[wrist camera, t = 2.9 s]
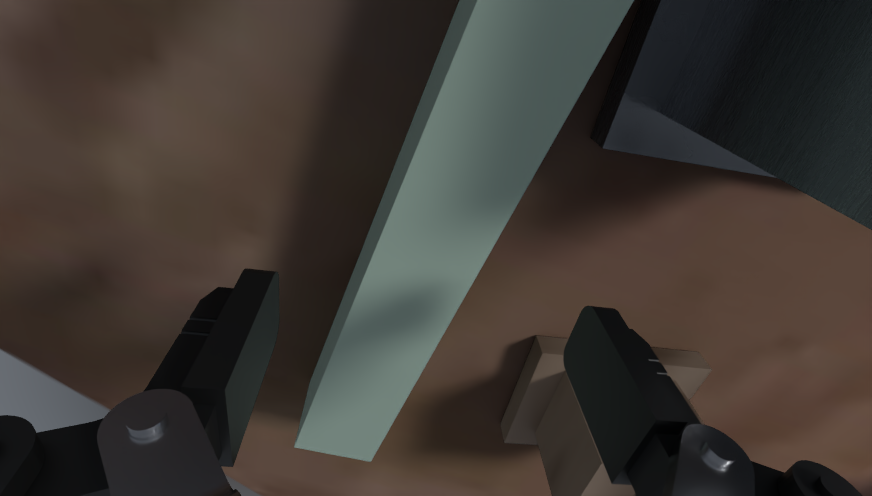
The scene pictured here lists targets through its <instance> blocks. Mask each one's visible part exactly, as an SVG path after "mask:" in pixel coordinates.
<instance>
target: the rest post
mask: <svg viewBox="0 0 872 496" xmlns="http://www.w3.org/2000/svg"><path fill="white" fill-rule="evenodd" d="M567 341H568V339H566V338H556V337H547V336H537V335H536V337H535V340H534V342H533V345H532V347H531V350H530V352H529V355H528V357H527V359H526V362H525V364H524V367H523V369H522V372H521V374H520V377H519V379H518V382H517V384H516V386H515V389H514V391H513V394H512V396H511V399H510V401H509V404H508V406H507V409H506V411H505V414H504V416H503V418H502V421H501V423H500V425H501V430H502V435H503V440H504V443H514V444H529V445H538V446H539V450H540V454H541V457H542V461H543V465H544V468H545V472H546V475H547V479H548V483H549V486H550V490H551V494H552V496H634V494H635V491H634V489H633V487H632V485H621V484H612V483H611V481H610V478H609V476H608V474H607V471H606V469H605V466H604V464H603V461H602V459H601V456H600V454H599V451H598V449H597V447H596V444H595V442H594V439H593V437H592V434H591V432H590V429H589V427H588V424H587V422H586V420H585V417H584V415H583V412H582V410H581V407H580V405H579V402H578V400H577V397H576V395H575V393H574V390H573V388H572V385H571V383H570V380H569V378H568V375H567V373H566V370H565V367H564V361H563V355H564V349H565V346H566V343H567ZM651 348H652V350H653V351H654V353H655V354H656V356H657V357H658V359H659V363H662V365H663V366H664V368H665V370H666V371H667V375H668V376H670V377H671V379H672V380H673V382H674V383H675V385H676V386H677V388H678V389H679V391H680V392H681V394H682V395H683V397H684V398H685V400H686V401H687V403H688V404H689V406H690V407H691V409H692V410H693V412H694V413H695V415H696V417H697V418H698V420H699V421H700V423H701V424H703V425H705V424H704V423H703V421H702V420H701V418H700V417H699V415H698V414H697V412H696V410H695V409H694V407H693V406H692V404H691V403H690V401H689V400H690V399H691V398H692V396H693V395H694V394H695V392H696V391H697V390H698V388H699V387H700V385H701V384H702V383H703V381H704V380H705V379H706V377H707V376H708V374H709V373H710V372H711V370H712V369H711V368H710V366H709V365H708V364H707V362H706V361H705V360H704V358H703V357H702V356H701V354H700V353H699V352H693V351H683V350H674V349H664V348H654V347H651Z"/></svg>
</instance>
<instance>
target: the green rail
mask: <svg viewBox="0 0 872 496" xmlns="http://www.w3.org/2000/svg"><path fill="white" fill-rule="evenodd" d="M633 1H634V0H459V3H458V5H457V8H456V10H455V13H454V15H453V18H452V20H451V23H450V26H449V28H448V31H447V33H446V36H445V38H444V41H443V43H442V46H441V49H440V51H439V54H438V56H437V59H436V61H435V64H434V66H433V69H432V71H431V74H430V77H429V79H428V82H427V84H426V87H425V89H424V92H423V94H422V97H421V100H420V102H419V105H418V107H417V110H416V112H415V115H414V117H413V120H412V123H411V125H410V128H409V130H408V133H407V135H406V138H405V140H404V143H403V146H402V148H401V151H400V153H399V156H398V158H397V161H396V163H395V166H394V169H393V171H392V174H391V176H390V179H389V181H388V184H387V186H386V189H385V191H384V194H383V197H382V199H381V202H380V204H379V207H378V209H377V212H376V214H375V217H374V220H373V222H372V225H371V227H370V230H369V232H368V235H367V237H366V240H365V243H364V245H363V248H362V250H361V253H360V255H359V258H358V260H357V263H356V266H355V268H354V271H353V273H352V276H351V278H350V281H349V283H348V286H347V289H346V291H345V294H344V296H343V299H342V301H341V304H340V306H339V309H338V311H337V314H336V317H335V319H334V322H333V324H332V327H331V329H330V332H329V334H328V337H327V340H326V342H325V345H324V347H323V350H322V352H321V355H320V357H319V360H318V363H317V365H316V368H315V370H314V373H313V375H312V378H311V380H310V383H309V387H308V392H307V396H306V400H305V404H304V408H303V412H302V416H301V421H300V425H299V429H298V433H297V437H296V441H295V445H294V447H295V448H301V449H306V450H311V451H316V452H322V453H327V454H332V455H338V456H343V457H348V458H353V459H359V460H364V461H369V462H371V460H372V459H373V457H374V455H375V453H376V452H377V450H378V448H379V446H380V445H381V443H382V441H383V439H384V438H385V436H386V434H387V432H388V431H389V429H390V427H391V425H392V424H393V422H394V420H395V418H396V417H397V415H398V413H399V411H400V410H401V408H402V406H403V404H404V403H405V401H406V399H407V397H408V396H409V394H410V392H411V390H412V389H413V387H414V385H415V383H416V382H417V380H418V378H419V376H420V375H421V373H422V371H423V369H424V368H425V366H426V364H427V362H428V360H429V359H430V357H431V355H432V353H433V352H434V350H435V348H436V346H437V345H438V343H439V341H440V339H441V338H442V336H443V334H444V332H445V331H446V329H447V327H448V325H449V324H450V322H451V320H452V318H453V317H454V315H455V313H456V311H457V310H458V308H459V306H460V304H461V303H462V301H463V299H464V297H465V296H466V294H467V292H468V290H469V289H470V287H471V285H472V283H473V282H474V280H475V278H476V276H477V275H478V273H479V271H480V269H481V268H482V266H483V264H484V262H485V261H486V259H487V257H488V255H489V254H490V252H491V250H492V248H493V247H494V245H495V243H496V241H497V240H498V238H499V236H500V234H501V233H502V231H503V229H504V227H505V226H506V224H507V222H508V220H509V219H510V217H511V215H512V213H513V212H514V210H515V208H516V206H517V205H518V203H519V201H520V199H521V198H522V196H523V194H524V192H525V190H526V189H527V187H528V185H529V183H530V182H531V180H532V178H533V176H534V175H535V173H536V171H537V169H538V168H539V166H540V164H541V162H542V161H543V159H544V157H545V155H546V154H547V152H548V150H549V148H550V147H551V145H552V143H553V141H554V140H555V138H556V136H557V134H558V133H559V131H560V129H561V127H562V126H563V124H564V122H565V120H566V119H567V117H568V115H569V113H570V112H571V110H572V108H573V106H574V105H575V103H576V101H577V99H578V98H579V96H580V94H581V92H582V91H583V89H584V87H585V85H586V84H587V82H588V80H589V78H590V77H591V75H592V73H593V71H594V70H595V68H596V66H597V64H598V63H599V61H600V59H601V57H602V56H603V54H604V52H605V50H606V49H607V47H608V45H609V43H610V42H611V40H612V38H613V36H614V35H615V33H616V31H617V29H618V27H619V26H620V24H621V22H622V20H623V19H624V17H625V15H626V13H627V12H628V10H629V8H630V6H631V5H632V3H633Z"/></svg>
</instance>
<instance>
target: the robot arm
mask: <svg viewBox="0 0 872 496" xmlns="http://www.w3.org/2000/svg"><path fill="white" fill-rule="evenodd" d="M278 328H279V275H278V272H274V271H264V270H255V269H244V270H243V272H242V274H241V276H240V277H239V279H238V281H237V283H236V285H235V287H234V289H233V288H223V287H218V288H216V289H215V290H214V291H212V292H211V293H210V294H208V295H207V296H205V297H204V298H203V299H201V300H200V302H199V303H198V305H197V306H196V308H195V310H194V311H193V313H192V314H191V316H190V320H188V321H187V323H186V324H185V326H184V327H183V329H182V333H181V334H179V336H178V337H177V339H176V340H175V342H174V344H173V345H172V347H171V348H170V350H169V352H168V353H167V355H166V357H165V358H164V360H163V361H162V363H161V365H160V366H159V368H158V370H157V371H156V373H155V374H154V376H153V378H152V379H151V381H150V382H149V384H148V386H147V387H146V389H145V390H144V391H143V392H141V393H138V394H136V395H133V396H131V397H129V398H127V399H125V400H124V401H122V402H121V403H119V404H118V405H116V406H115V407H114V408H113V409H112V410H111V411H110V412H109V413H108V414H107V415H106V416H105V417H104V418H103V419H100V420H97V421H93V422H89V423H85V424H79V425H74V426H69V427H64V428H59V429H54V430H49V431H44V432H39V433H36V431H35V429H34V427H33V426H32V424H31V423H30V422H29V421H27V420H25V419H23V418H21V417H17V416H8V415H4V416H0V496H241V494H240V493H239V492H238V491H237V490H236V489H235V490H233V489H232V488H231V486H230V484H229V483H228V481H227V478H226V476H225V474H224V472H223V469H222V467H221V466H228V467H233V465H234V462H235V460H236V457H237V454H238V451H239V448H240V445H241V442H242V439H243V436H244V433H245V430H246V428H247V425H248V422H249V419H250V416H251V413H252V410H253V407H254V404H255V401H256V398H257V396H258V393H259V390H260V387H261V384H262V381H263V378H264V375H265V372H266V369H267V366H268V364H269V361H270V358H271V355H272V352H273V349H274V346H275V343H276V339H277V334H278ZM563 361H564V367H565V370H566V373H567V375H568V378H569V380H570V383H571V385H572V388H573V390H574V393H575V395H576V397H577V400H578V402H579V405H580V407H581V410H582V412H583V415H584V417H585V420H586V422H587V424H588V427H589V429H590V432H591V434H592V437H593V439H594V442H595V444H596V447H597V449H598V451H599V454H600V456H601V459H602V461H603V464H604V466H605V469H606V471H607V474H608V476H609V478H610V481H611V483H612V484H621V485H632V487H633V489H634V491H635V494H634V496H862V495H861V494H860V493H859V492H858V491H857V490H856V489H855V488H854V487H853V486H852V485H851V484H850V483H849V482H848V481H846V480H845V479H844V478H843V477H841V476H840V475H839V474H837V473H835V472H834V471H832V470H831V469H829V468H827V467H825V466H823V465H821V464H818V463H815V462H812V461H807V460H801V461H798V462H796V463H795V464H794V465H792V466H791V467H790V468H789V469H788V470H787V471H786V472H785V473H784V472H781V471H778V470H775V469H772V468H769V467H767V466H764V465H761V464H758V463H755V462H752V461H750V459H749V457H748V456H747V454H746V453H745V452H744V451H743V449H742V448H741V447H740V446H739V445H738V444H737V443H736V442H735V441H733V440H732V439H731V438H730V437H728V436H727V435H726V434H724V433H722V432H721V431H719V430H717V429H715V428H713V427H710V426H707V425H703V424H701V423H700V421H699V420H698V418H697V417H696V415H695V413H694V412H693V410H692V409H691V407H690V406H689V404H688V403H687V401H686V400H685V398H684V397H683V395H682V394H681V392H680V391H679V389H678V388H677V386H676V385H675V383H674V382H673V380H672V379H671V377H670V376H668V375H667V371H666V370H665V368H664V366H663V365H662V363H659V359H658V357H657V356H656V354H655V353H654V351H653V350H652V348H651V347H650V345H649V344H648V343H647V342H646V341H645V340H644V339H643V338H642V337H640V336H639V335H638V334H637V333H636V332H635V331H634V330H633V329H629V328H628V326H627V325H626V323H625V322H624V320H623V318H622V317H621V315H620V314H619V312H618V311H617V310H616V309H613V308H603V307H594V306H586V307H584V308H583V310H582V311H581V313H580V315H579V318H578V320H577V322H576V324H575V326H574V328H573V331H572V333H571V335H570V337H569V339H568V341H567V343H566V346H565V349H564V355H563Z"/></svg>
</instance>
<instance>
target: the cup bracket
mask: <svg viewBox="0 0 872 496" xmlns="http://www.w3.org/2000/svg"><path fill="white" fill-rule="evenodd" d="M590 138H591V139H593V140H594V141H595V142H596V143H597V144H598V145H599V146H600V147H602V148H603V149H609V150H615V151H621V152H627V153H633V154H639V155H645V156H651V157H657V158H662V159H668V160H674V161H680V162H686V163H692V164H698V165H704V166H710V167H716V168H721V169H727V170H733V171H739V172H745V173H751V174H757V175H763V176H769V177H775V178H778V179H780V180H782V181H784V182H786V183H788V184H789V185H791V186H793V187H795V188H797V189H798V190H800V191H802V192H804V193H806V194H807V195H809V196H811V197H813V198H815V199H817V200H818V201H820V202H822V203H824V204H826V205H827V206H829V207H831V208H833V209H835V210H836V211H838V212H840V213H842V214H844V215H846V216H847V217H849V218H851V219H853V220H855V221H856V222H858V223H860V224H862V225H864V226H865V227H867V228H869V229H871V230H872V0H642V1H641V4H640V7H639V9H638V12H637V15H636V17H635V20H634V23H633V25H632V28H631V31H630V33H629V36H628V39H627V41H626V44H625V47H624V49H623V52H622V55H621V57H620V60H619V63H618V65H617V68H616V71H615V73H614V76H613V79H612V81H611V84H610V87H609V89H608V92H607V95H606V97H605V100H604V103H603V105H602V108H601V111H600V113H599V116H598V119H597V121H596V124H595V127H594V129H593V132H592V135H591V137H590Z"/></svg>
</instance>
